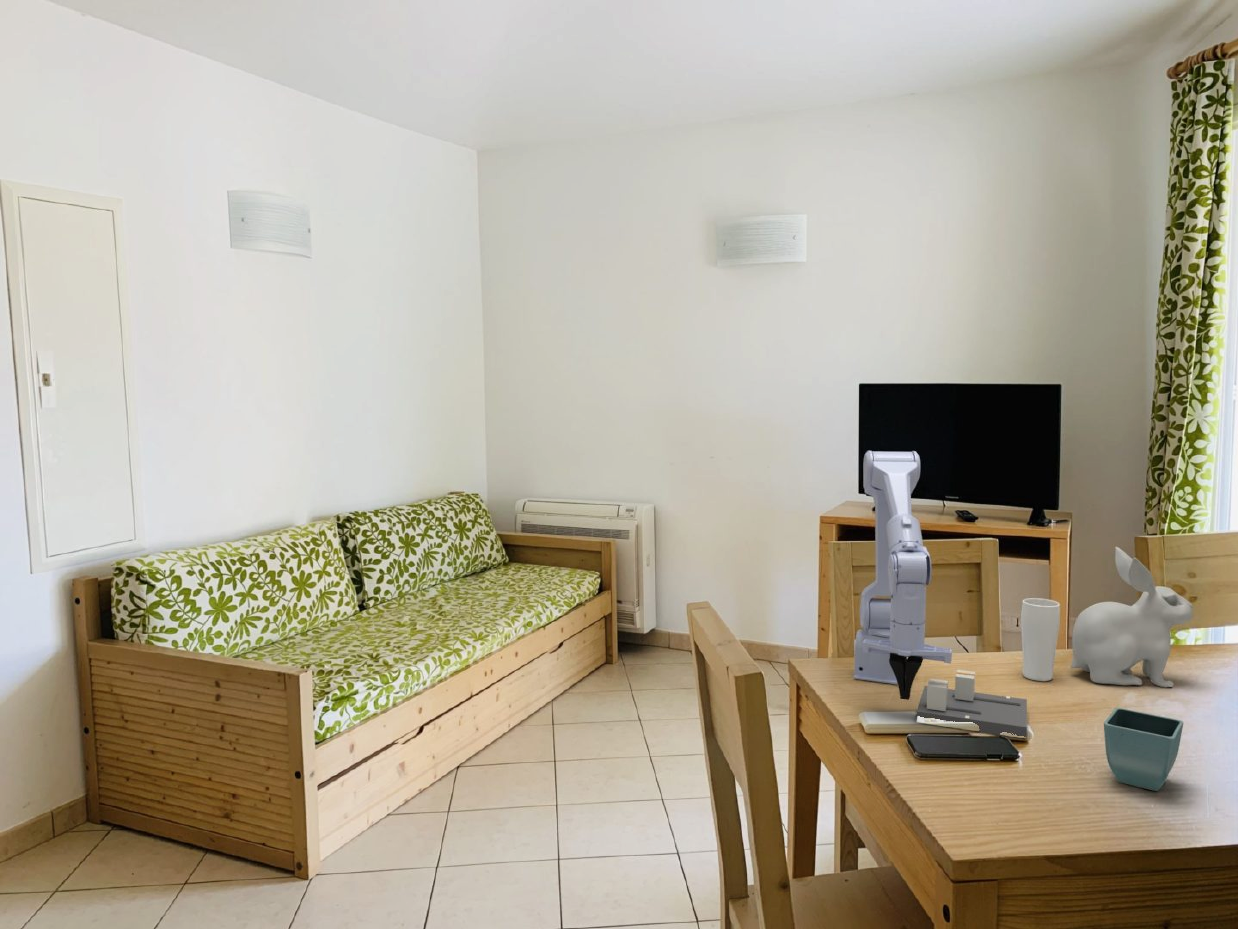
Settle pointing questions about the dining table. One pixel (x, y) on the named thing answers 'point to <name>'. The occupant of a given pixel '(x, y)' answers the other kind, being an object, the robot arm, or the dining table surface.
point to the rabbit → (1129, 630)
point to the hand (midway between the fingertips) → (905, 697)
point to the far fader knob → (964, 685)
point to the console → (982, 712)
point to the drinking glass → (1039, 637)
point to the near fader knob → (937, 694)
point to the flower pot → (1141, 747)
